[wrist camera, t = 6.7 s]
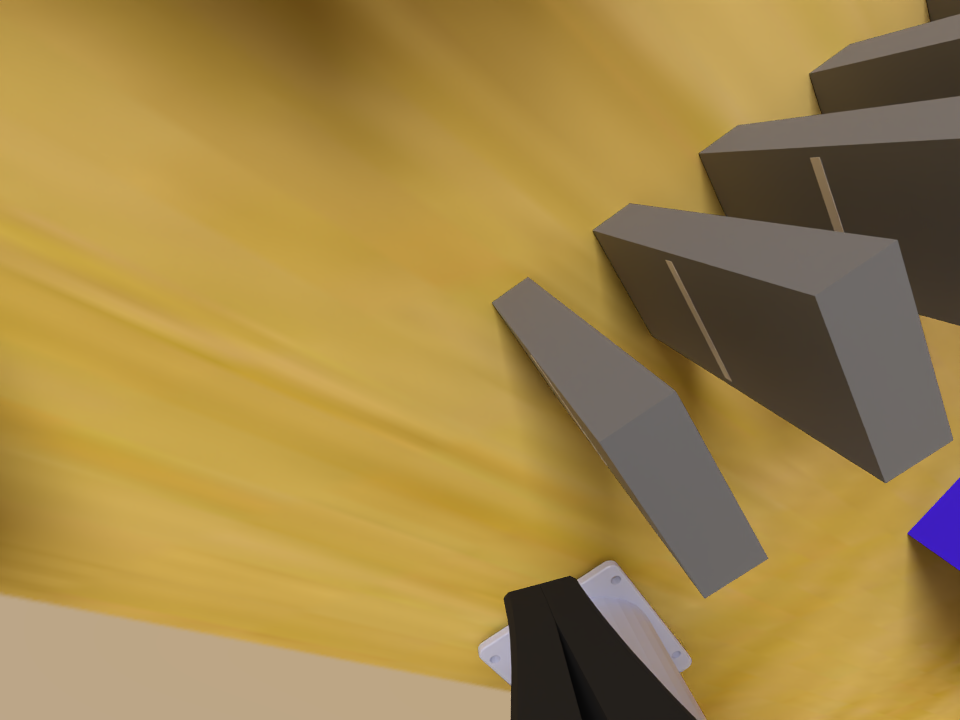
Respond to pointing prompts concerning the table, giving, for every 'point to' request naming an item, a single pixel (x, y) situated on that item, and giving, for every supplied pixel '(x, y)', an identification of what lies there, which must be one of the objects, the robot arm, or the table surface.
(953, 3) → the end domino
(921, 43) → the domino
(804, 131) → the domino
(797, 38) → the table surface
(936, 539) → the bracket
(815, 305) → the domino
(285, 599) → the table surface
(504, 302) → the domino
